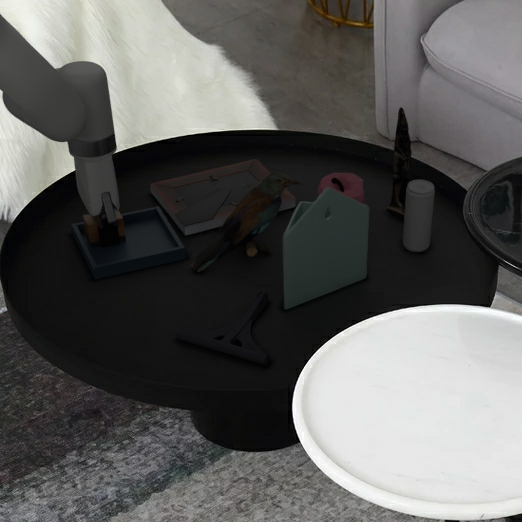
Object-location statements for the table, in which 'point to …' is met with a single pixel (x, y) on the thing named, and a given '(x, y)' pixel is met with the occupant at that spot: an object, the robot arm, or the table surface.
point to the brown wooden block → (92, 228)
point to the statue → (401, 166)
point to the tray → (133, 245)
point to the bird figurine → (247, 221)
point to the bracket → (233, 334)
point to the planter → (324, 247)
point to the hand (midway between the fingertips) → (106, 237)
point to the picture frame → (211, 195)
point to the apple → (344, 185)
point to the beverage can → (418, 215)
